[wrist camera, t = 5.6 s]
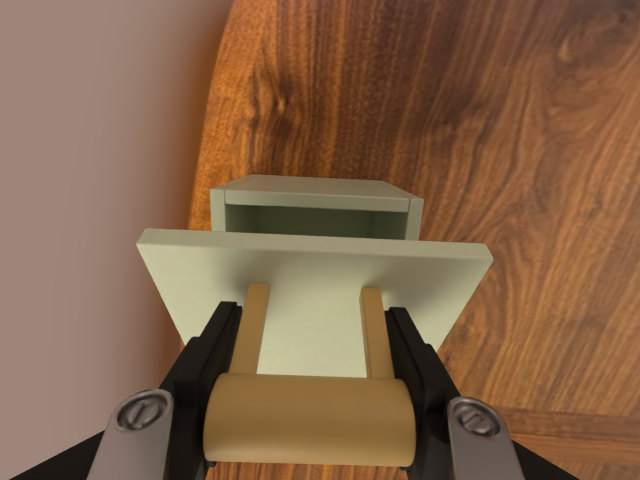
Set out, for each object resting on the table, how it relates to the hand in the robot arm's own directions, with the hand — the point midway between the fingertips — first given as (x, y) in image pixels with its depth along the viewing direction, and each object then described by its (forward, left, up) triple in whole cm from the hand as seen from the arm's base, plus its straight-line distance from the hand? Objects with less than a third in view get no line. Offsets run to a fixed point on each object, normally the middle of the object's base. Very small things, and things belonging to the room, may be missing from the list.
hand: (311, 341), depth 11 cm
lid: (+3, 0, -4) cm, 4 cm away
